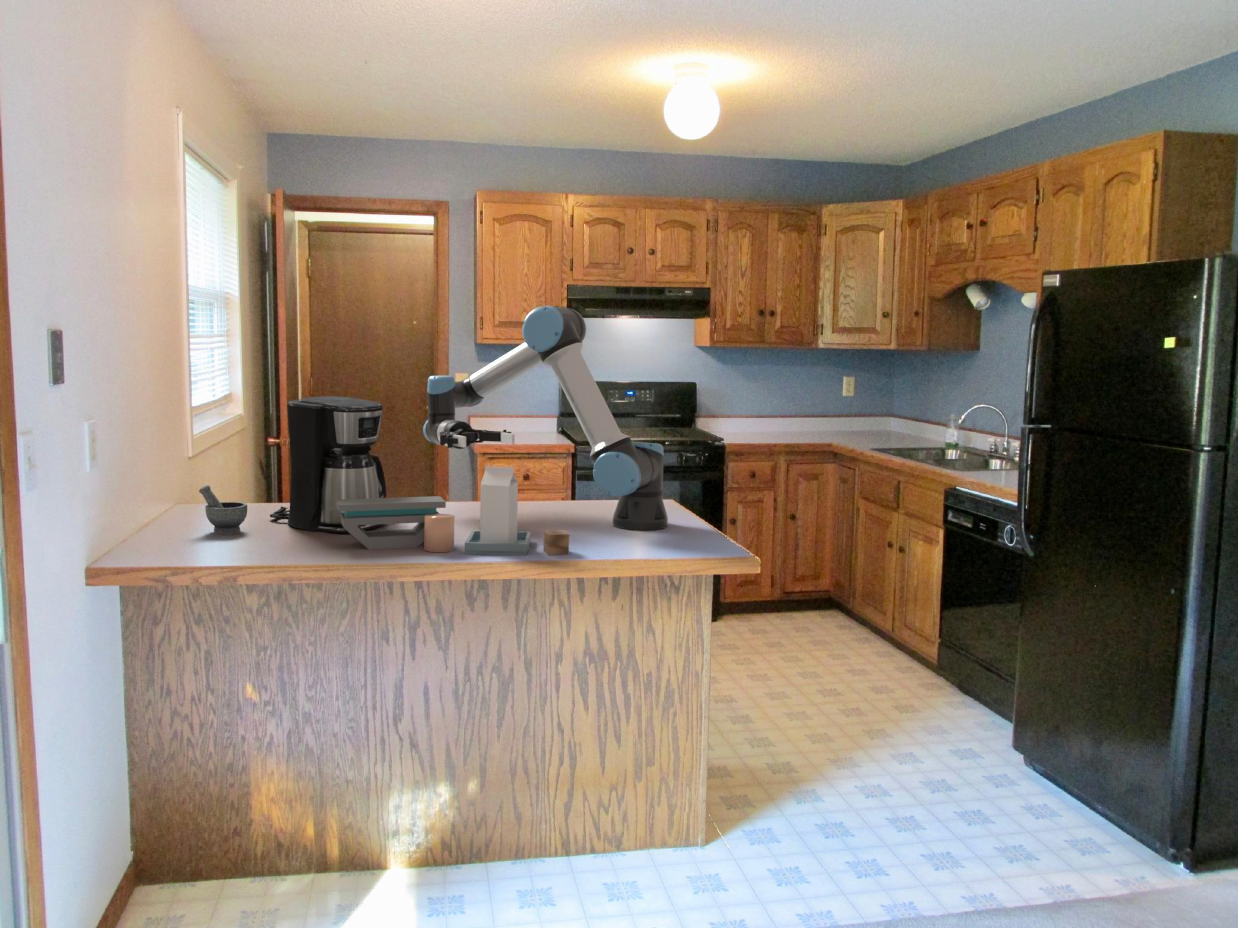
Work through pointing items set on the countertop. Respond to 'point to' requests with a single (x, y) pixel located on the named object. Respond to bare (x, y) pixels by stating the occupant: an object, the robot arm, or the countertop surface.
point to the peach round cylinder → (439, 532)
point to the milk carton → (498, 505)
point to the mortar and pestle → (223, 513)
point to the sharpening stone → (388, 519)
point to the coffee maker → (331, 460)
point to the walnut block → (556, 542)
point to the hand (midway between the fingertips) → (489, 440)
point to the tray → (498, 545)
